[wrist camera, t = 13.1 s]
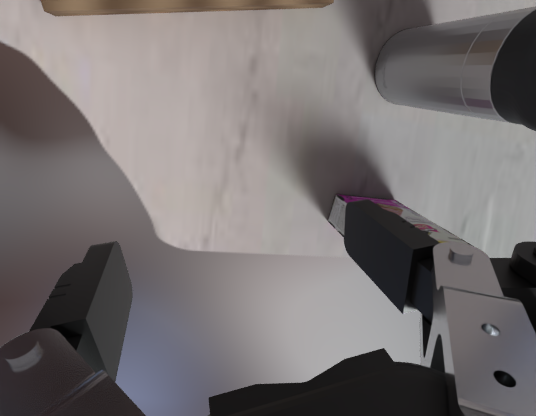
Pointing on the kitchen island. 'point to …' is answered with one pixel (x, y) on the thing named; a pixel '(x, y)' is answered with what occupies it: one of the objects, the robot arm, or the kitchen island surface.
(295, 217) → the kitchen island surface
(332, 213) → the candy bar box
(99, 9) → the rack
